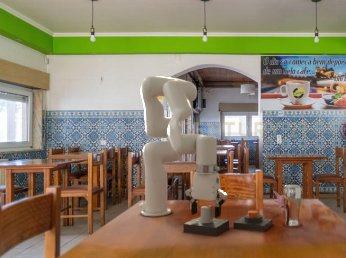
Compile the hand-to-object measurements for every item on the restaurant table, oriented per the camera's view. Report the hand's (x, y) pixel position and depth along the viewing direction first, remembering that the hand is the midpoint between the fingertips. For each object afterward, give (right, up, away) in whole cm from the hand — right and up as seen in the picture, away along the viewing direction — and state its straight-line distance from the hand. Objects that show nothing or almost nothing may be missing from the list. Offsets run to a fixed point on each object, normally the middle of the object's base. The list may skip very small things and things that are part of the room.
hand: (205, 215), depth 130 cm
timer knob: (0, -2, 0) cm, 2 cm away
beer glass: (+33, -5, +6) cm, 34 cm away
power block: (+18, -5, +4) cm, 19 cm away
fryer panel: (0, -5, 0) cm, 5 cm away
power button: (+18, -2, +4) cm, 18 cm away
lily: (+31, -5, +23) cm, 39 cm away
